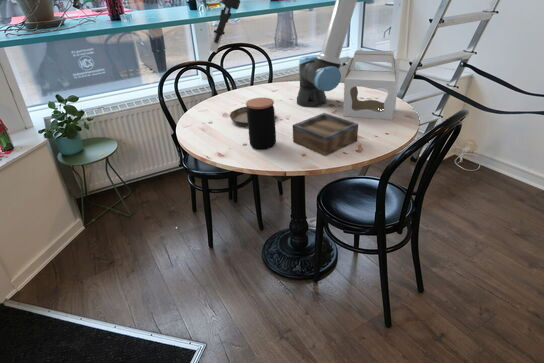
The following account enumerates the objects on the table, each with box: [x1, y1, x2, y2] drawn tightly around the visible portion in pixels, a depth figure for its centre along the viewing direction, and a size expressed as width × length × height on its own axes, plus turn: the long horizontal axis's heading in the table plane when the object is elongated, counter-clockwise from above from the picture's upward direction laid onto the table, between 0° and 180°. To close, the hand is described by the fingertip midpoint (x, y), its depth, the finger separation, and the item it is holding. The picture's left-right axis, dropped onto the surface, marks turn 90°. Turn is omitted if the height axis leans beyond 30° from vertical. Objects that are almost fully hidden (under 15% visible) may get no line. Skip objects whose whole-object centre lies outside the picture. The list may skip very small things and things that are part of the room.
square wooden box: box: [292, 112, 359, 157], centre depth 148 cm, size 18×18×8 cm
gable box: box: [342, 50, 400, 121], centre depth 167 cm, size 22×13×28 cm, turn 69°
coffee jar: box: [245, 97, 277, 151], centre depth 147 cm, size 11×11×18 cm
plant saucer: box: [229, 106, 248, 127], centre depth 176 cm, size 21×21×3 cm
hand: (213, 49), depth 151 cm, fingers open, 13 cm apart
